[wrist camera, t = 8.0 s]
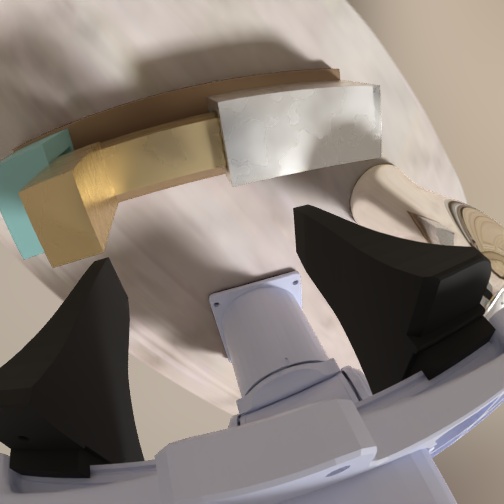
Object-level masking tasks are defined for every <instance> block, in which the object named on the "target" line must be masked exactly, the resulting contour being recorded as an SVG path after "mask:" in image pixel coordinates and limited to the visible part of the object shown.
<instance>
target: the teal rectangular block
mask: <svg viewBox="0 0 504 504" xmlns="http://www.w3.org/2000/svg"><path fill="white" fill-rule="evenodd" d="M72 151H74V148H73V144H72V141H71V138H70V134H69V131H68V128H67V129H65V130H62V131H60V132H57V133H55V134H53V135H50V136H48V137H46V138H44V139H41V140H39V141H37V142H35V143H33V144H30V145H28V146H26V147H24V148H22V149H20V150H18V151H16V152H15V153H13V154H12V155H10V156H8V157H7V158H5V159H4V160H2V161H1V162H0V211H1V214H2V216H3V218H4V221H5V223H6V225H7V227H8V229H9V231H10V233H11V236H12V238H13V240H14V242H15V244H16V246H17V248H18V250H19V252H20V254H21V255H22V257H23V259H24V260H25V259H27V258H30V257H33V256H36V255H39V254H42V253H45V252H44V250H43V248H42V246H41V244H40V242H39V240H38V237H37V235H36V233H35V231H34V229H33V227H32V224H31V222H30V220H29V218H28V215H27V213H26V211H25V208H24V206H23V204H22V201H21V199H20V196H19V194H18V192H19V191H20V190H21V189H22V188H24V187H25V186H26V185H27V184H28V183H29V182H30V181H31V180H32V179H33V178H34V177H35V176H36V175H37V174H38V173H40V172H41V171H42V170H43V169H44V168H45V167H46V166H47V165H48V164H50V163H51V162H52V161H53V160H54V159H55V158H57V157H59V156H62V155H64V154H67V153H69V152H72Z"/></svg>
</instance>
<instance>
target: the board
mask: <svg viewBox="0 0 504 504" xmlns="http://www.w3.org/2000/svg"><path fill="white" fill-rule="evenodd" d="M329 80H340V72H339V69H313V70H299V71H287V72H277V73H268V74H260V75H253V76H246V77H239V78H233V79H227V80H221V81H216V82H211V83H205V84H201V85H196V86H191V87H187V88H182V89H178V90H174V91H170V92H166V93H162V94H158V95H154V96H151V97H147V98H143V99H140V100H136V101H133V102H130V103H127V104H123V105H120V106H117V107H114V108H111V109H108V110H105V111H102V112H99V113H96V114H94V115H91V116H88V117H85V118H83V119H80V120H77V121H75V122H72V123H70V124H67V125H65V126H62V127H60V128H58V129H55V130H53V131H51V132H48V133H46V134H44V135H42V136H39V137H37V138H35V139H33V140H31V141H29V142H26V143H24V144H22V145H20V146H18V147H17V148H15V149H14V150H13V151H14V153H15V152H16V151H18V150H20V149H22V148H24V147H26V146H28V145H30V144H33V143H35V142H37V141H39V140H41V139H44V138H46V137H48V136H50V135H53V134H55V133H57V132H60V131H62V130H65V129H67V128H68V131H69V134H70V138H71V141H72V144H73V148H74V150H77V149H80V148H82V147H85V146H88V145H91V144H93V143H96V142H99V143H102V142H104V141H107V140H110V139H114V138H117V137H120V136H123V135H126V134H129V133H133V132H136V131H139V130H143V129H146V128H150V127H153V126H157V125H161V124H164V123H168V122H172V121H176V120H180V119H184V118H188V117H192V116H197V115H201V114H206V113H209V109H208V103H207V98H206V97H208V96H213V95H218V94H223V93H228V92H234V91H240V90H246V89H253V88H260V87H267V86H275V85H283V84H292V83H303V82H315V81H329ZM222 174H225V173H224V171H223V169H222V168H221V167H218V168H214V169H210V170H206V171H201V172H197V173H193V174H190V175H186V176H182V177H178V178H174V179H171V180H167V181H163V182H160V183H156V184H153V185H149V186H146V187H142V188H139V189H135V190H132V191H129V192H125V193H122V194H119V195H116V197H117V200H118V203H119V202H122V201H125V200H128V199H132V198H135V197H139V196H142V195H145V194H149V193H152V192H156V191H159V190H163V189H167V188H170V187H174V186H178V185H182V184H185V183H189V182H193V181H197V180H201V179H205V178H209V177H213V176H217V175H222Z"/></svg>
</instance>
